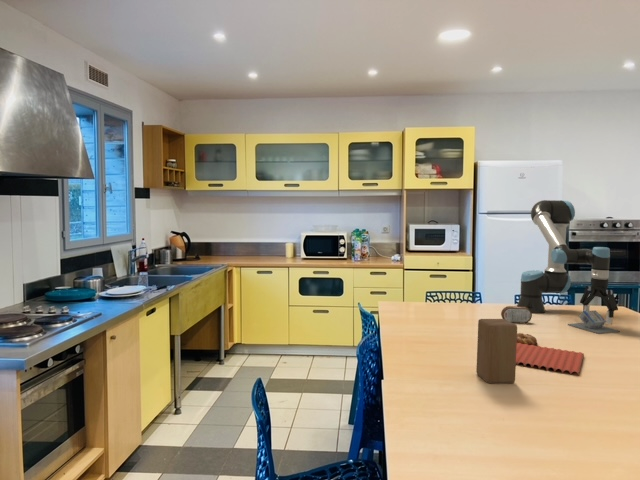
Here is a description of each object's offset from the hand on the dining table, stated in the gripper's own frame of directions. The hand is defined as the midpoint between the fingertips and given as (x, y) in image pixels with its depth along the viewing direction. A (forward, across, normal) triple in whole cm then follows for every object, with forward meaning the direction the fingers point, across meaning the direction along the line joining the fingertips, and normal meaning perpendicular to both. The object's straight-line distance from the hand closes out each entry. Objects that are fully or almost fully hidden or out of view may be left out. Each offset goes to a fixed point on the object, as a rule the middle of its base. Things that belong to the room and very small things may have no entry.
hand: (597, 320), depth 238 cm
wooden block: (+4, +44, -98) cm, 108 cm away
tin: (+4, -22, -30) cm, 38 cm away
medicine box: (-1, -2, -6) cm, 6 cm away
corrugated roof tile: (+5, +31, -66) cm, 73 cm away
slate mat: (+4, -1, -2) cm, 4 cm away
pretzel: (+4, +10, -56) cm, 57 cm away
